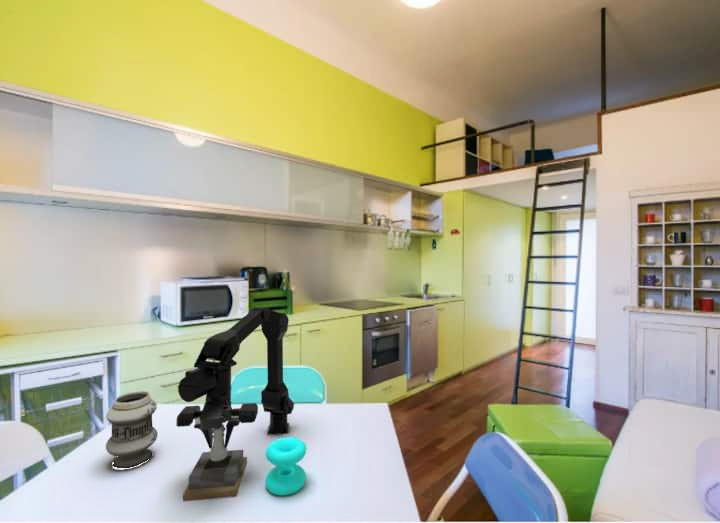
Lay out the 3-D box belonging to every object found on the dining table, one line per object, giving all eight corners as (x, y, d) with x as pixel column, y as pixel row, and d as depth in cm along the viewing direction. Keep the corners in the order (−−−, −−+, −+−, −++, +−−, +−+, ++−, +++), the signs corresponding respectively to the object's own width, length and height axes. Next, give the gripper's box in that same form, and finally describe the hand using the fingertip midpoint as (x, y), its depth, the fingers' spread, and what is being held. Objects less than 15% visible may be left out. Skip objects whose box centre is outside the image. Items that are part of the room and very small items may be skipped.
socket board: (201, 465, 94) (201, 449, 94) (247, 462, 95) (247, 446, 95) (182, 500, 80) (183, 481, 80) (236, 496, 82) (236, 477, 82)
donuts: (302, 456, 81) (260, 455, 81) (301, 498, 81) (259, 497, 81) (309, 435, 91) (272, 434, 91) (309, 473, 91) (271, 471, 91)
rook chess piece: (231, 454, 89) (231, 424, 89) (217, 464, 85) (218, 432, 85) (219, 450, 91) (219, 420, 91) (205, 459, 87) (205, 428, 87)
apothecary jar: (101, 460, 96) (102, 396, 96) (149, 443, 104) (150, 385, 104) (111, 479, 87) (112, 409, 87) (163, 459, 96) (164, 396, 96)
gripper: (167, 401, 78) (166, 469, 79) (251, 397, 81) (250, 463, 81) (185, 384, 89) (184, 443, 90) (258, 381, 92) (257, 438, 92)
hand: (218, 447), depth 88 cm, fingers closed on rook chess piece, 3 cm apart
